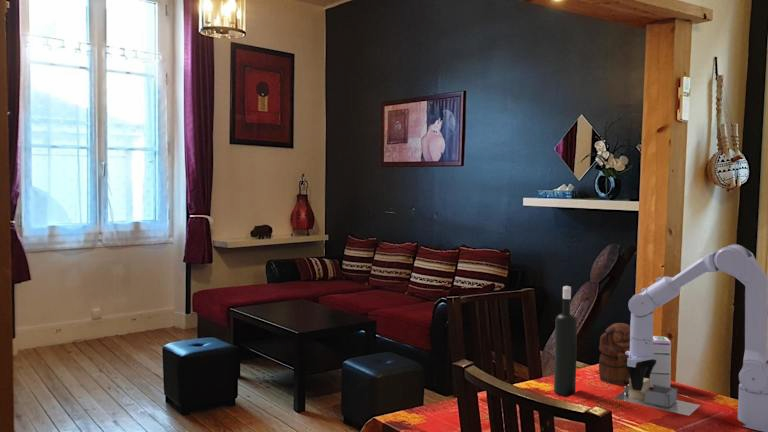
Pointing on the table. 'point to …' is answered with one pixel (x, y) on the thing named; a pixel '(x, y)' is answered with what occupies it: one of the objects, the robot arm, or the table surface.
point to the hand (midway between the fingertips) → (640, 387)
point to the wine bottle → (565, 348)
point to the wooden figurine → (614, 354)
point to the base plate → (676, 407)
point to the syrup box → (661, 362)
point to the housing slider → (661, 395)
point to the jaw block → (639, 394)
